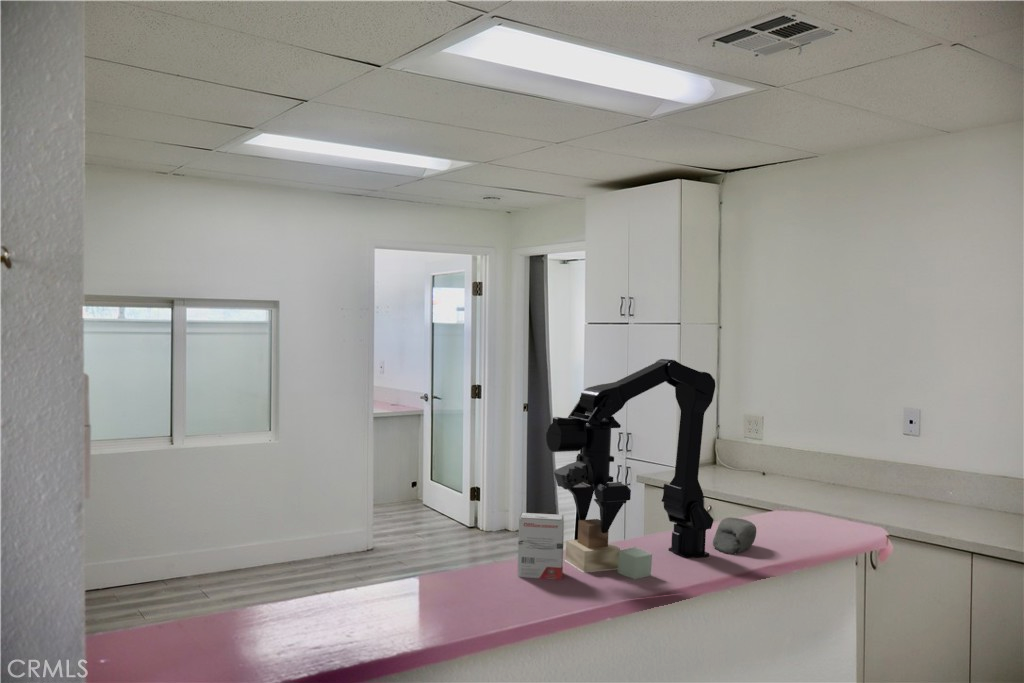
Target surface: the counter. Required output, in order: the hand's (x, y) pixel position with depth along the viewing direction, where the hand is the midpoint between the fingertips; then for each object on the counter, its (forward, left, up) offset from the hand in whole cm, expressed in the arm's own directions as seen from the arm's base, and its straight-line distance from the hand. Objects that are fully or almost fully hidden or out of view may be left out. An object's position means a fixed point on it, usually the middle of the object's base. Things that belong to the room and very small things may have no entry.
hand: (592, 527), depth 158 cm
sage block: (-5, +8, -8) cm, 12 cm away
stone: (-38, -3, -8) cm, 39 cm away
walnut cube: (0, 0, -4) cm, 4 cm away
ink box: (+13, +3, -8) cm, 16 cm away
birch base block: (0, 0, -8) cm, 8 cm away
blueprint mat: (0, 0, -8) cm, 8 cm away
